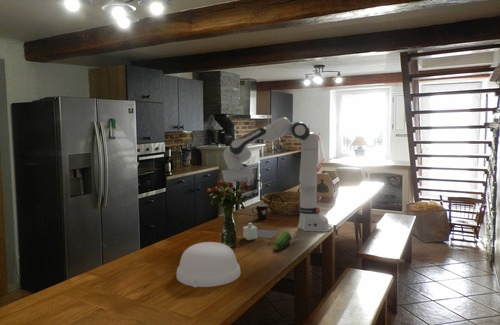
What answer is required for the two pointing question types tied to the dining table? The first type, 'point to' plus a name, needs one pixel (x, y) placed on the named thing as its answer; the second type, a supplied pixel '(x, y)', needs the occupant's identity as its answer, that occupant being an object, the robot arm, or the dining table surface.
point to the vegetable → (282, 240)
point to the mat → (266, 233)
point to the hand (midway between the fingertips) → (242, 185)
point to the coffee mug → (261, 211)
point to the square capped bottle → (250, 232)
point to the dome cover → (208, 265)
